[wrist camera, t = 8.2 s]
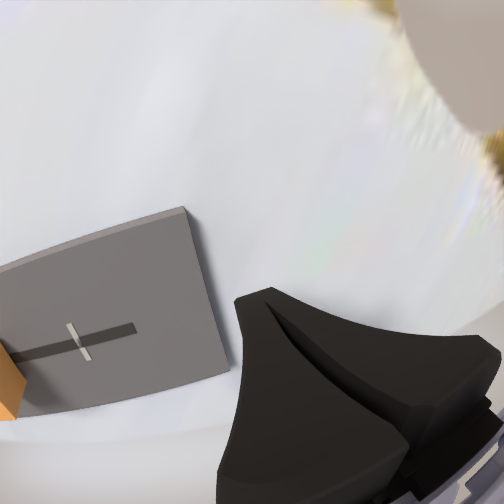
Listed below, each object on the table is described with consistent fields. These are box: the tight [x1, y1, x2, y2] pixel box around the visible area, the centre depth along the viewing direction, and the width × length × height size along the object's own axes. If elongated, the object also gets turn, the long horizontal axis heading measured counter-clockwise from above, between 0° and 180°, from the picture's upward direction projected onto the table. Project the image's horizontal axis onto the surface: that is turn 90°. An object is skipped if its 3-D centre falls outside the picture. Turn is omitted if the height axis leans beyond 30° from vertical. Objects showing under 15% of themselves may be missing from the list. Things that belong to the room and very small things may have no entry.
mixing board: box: [0, 206, 231, 418], centre depth 16 cm, size 12×24×2 cm, turn 100°
